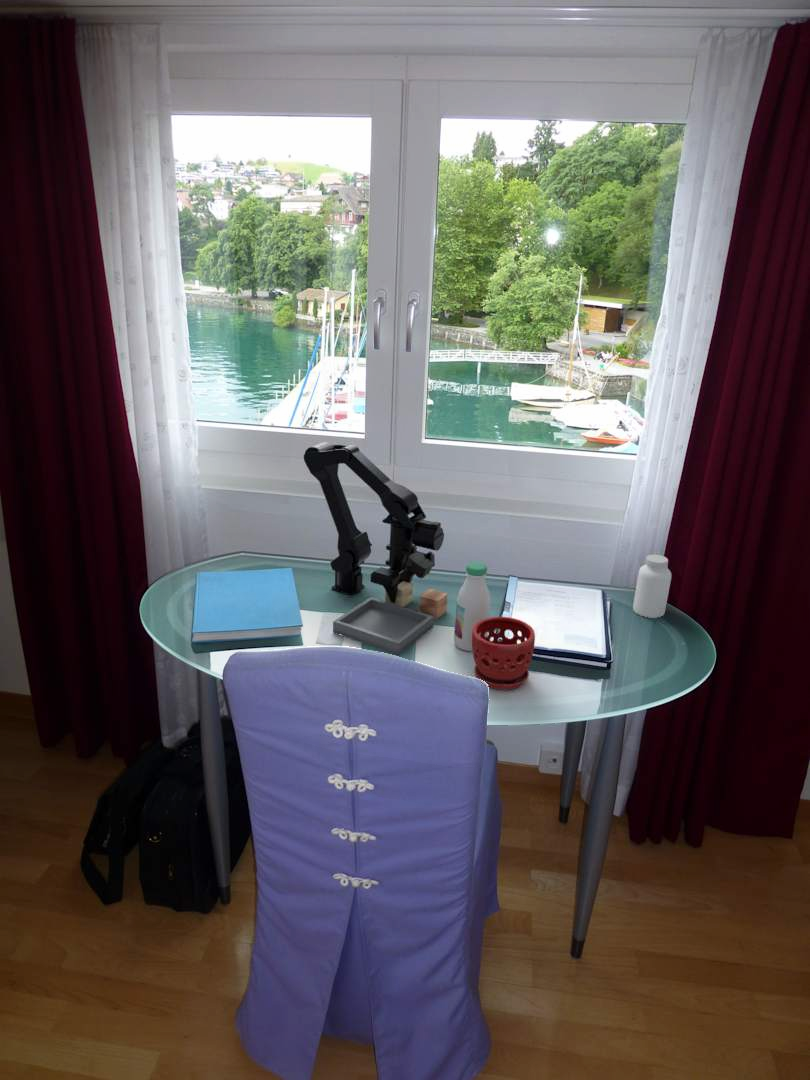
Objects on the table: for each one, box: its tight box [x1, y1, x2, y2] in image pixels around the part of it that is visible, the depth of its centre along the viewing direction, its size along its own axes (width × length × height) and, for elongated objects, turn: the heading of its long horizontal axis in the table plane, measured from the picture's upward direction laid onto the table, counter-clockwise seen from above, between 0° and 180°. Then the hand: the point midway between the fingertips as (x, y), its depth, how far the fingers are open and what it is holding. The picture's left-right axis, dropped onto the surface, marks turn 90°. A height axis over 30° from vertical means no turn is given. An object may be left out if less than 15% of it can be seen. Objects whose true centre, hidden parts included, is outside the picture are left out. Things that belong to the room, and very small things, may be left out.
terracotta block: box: [418, 588, 449, 620], centre depth 202 cm, size 5×5×5 cm
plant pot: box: [472, 616, 536, 690], centre depth 173 cm, size 13×13×12 cm
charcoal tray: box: [332, 596, 435, 656], centre depth 193 cm, size 18×16×3 cm
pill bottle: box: [632, 554, 672, 619], centre depth 206 cm, size 8×8×15 cm
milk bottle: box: [453, 561, 491, 653], centre depth 185 cm, size 8×8×20 cm
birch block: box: [384, 581, 414, 607], centre depth 207 cm, size 5×5×5 cm
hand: (398, 598), depth 207 cm, fingers open, 5 cm apart
